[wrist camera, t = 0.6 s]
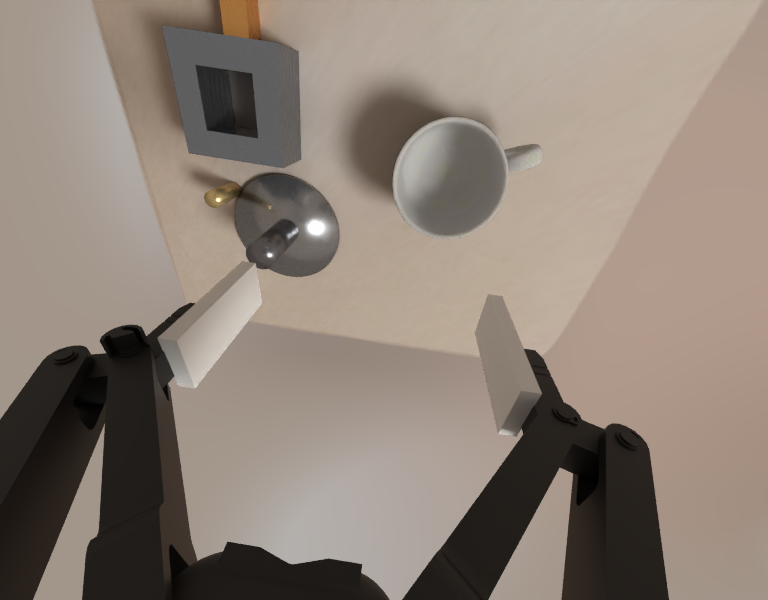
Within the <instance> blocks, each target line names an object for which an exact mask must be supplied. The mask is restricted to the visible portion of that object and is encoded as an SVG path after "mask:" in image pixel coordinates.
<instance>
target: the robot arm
mask: <svg viewBox="0 0 768 600" xmlns="http://www.w3.org/2000/svg"><path fill="white" fill-rule="evenodd" d="M261 304H262V299H261V293H260V287H259V281H258V275H257V268H256V263H251V262H244V261H242V262H241V263H240V264H239V265H238V266H237V267H236V268H235V269H233V270H232V271H231V272H230V273H229V274H228V275H227V276H226V277H225V278H223V279H222V280H221V281H220V282H219V283H218V284H217V285H216V286H215V287H213V288H212V289H211V290H210V291H209V292H208V293H207V294H206V295H205V296H203V297H202V298H201V299H200V300H199V301H198V302H197V303H196V304H195V303H189V304H187V305H185V306H183V307H181V308H179V309H178V310H177V311H176V312H174V313H173V314H172V315H171V317H168V318H167V319H166V320H165V322H163V323H162V324H160V325H159V326H158V327H157V328H156V329H155V330H153V331H152V332H151V333H150V334H149V335H148V336H146V335H145V333H144V331H143V329H142V327H140V326H138V325H125V326H121V327H117V328H114V329H112V330H110V331H108V332H107V333H105V334H104V335H103V336H102V337H101V339H100V343H101V344H102V346H103V348H104V350H105V351H106V353H105V354H94V355H91V354H90V352H89V350H88V349H87V348H86V347H84V346H70V347H65V348H63V349H59V350H57V351H55V352H53V353H52V354H50V355H48V356H47V357H46V358H45V359H44V360H43V361H42V362H41V364H40V365H39V367H38V368H37V369H36V371H35V372H34V373H33V375H32V376H31V378H30V379H29V381H28V382H27V383H26V385H25V386H24V387H23V389H22V390H21V392H20V393H19V394H18V396H17V397H16V399H15V400H14V401H13V403H12V404H11V405H10V407H9V408H8V410H7V411H6V412H5V414H4V415H3V417H2V418H1V420H0V600H33V598H34V595H35V593H36V591H37V588H38V586H39V583H40V581H41V578H42V576H43V573H44V571H45V569H46V566H47V564H48V561H49V559H50V556H51V554H52V551H53V549H54V547H55V544H56V542H57V539H58V537H59V534H60V532H61V529H62V527H63V524H64V522H65V520H66V517H67V514H68V512H69V510H70V507H71V505H72V502H73V500H74V497H75V495H76V493H77V490H78V488H79V485H80V482H81V480H82V478H83V475H84V473H85V470H86V468H87V466H88V463H89V460H90V458H91V456H92V453H93V451H94V448H95V446H96V443H97V441H98V439H99V436H100V434H101V431H102V429H103V426H104V424H105V434H104V451H103V468H102V486H101V503H100V521H99V532H98V535H97V537H95V538H94V539H92V540H90V542H89V545H88V547H87V552H86V559H85V573H84V584H83V596H82V600H389V598H388V597H387V595H386V594H385V593H384V591H383V590H382V589H381V588H380V587H379V586H378V585H377V584H376V583H375V582H374V581H373V580H372V579H370V578H369V577H367V576H366V575H364V574H362V573H361V569H362V564H357V563H352V562H346V561H339V560H334V559H324V560H318V561H312V562H306V563H300V564H289V563H287V562H285V561H283V560H281V559H280V558H278V557H276V556H274V555H273V554H271V553H269V552H267V551H266V550H264V549H262V548H260V547H255V546H250V545H244V544H238V543H232V542H227V544H226V546H225V549H224V551H223V552H219V553H216V554H213V555H210V556H208V557H205V558H203V559H200V560H199V561H197V558H196V554H195V551H194V548H193V545H192V541H191V536H190V529H189V522H188V515H187V507H186V500H185V493H184V486H183V479H182V472H181V464H180V458H179V449H178V442H177V435H176V428H175V420H174V413H173V406H172V399H171V391H170V387H169V385H168V383H169V382H170V380H171V379H172V378H173V377H174V378H175V380H176V382H177V384H178V386H183V387H189V388H196V387H197V385H198V384H199V383H200V381H201V380H202V379H203V378H204V376H205V375H206V374H207V372H208V371H209V370H210V369H211V367H212V366H213V365H214V363H215V362H216V361H217V360H218V359H219V357H220V356H221V355H222V353H223V352H224V351H225V350H226V348H227V347H228V346H229V344H230V343H231V342H232V341H233V339H234V338H235V337H236V336H237V334H238V333H239V332H240V331H241V329H242V328H243V326H244V325H245V324H246V323H247V322H248V320H249V319H250V318H251V317H252V315H253V314H254V313H255V311H256V310H257V309H258V308H259V306H260V305H261ZM475 335H476V339H477V343H478V348H479V352H480V356H481V361H482V365H483V369H484V374H485V378H486V383H487V387H488V391H489V396H490V400H491V404H492V408H493V413H494V418H495V421H496V426H497V430H498V434H503V435H510V436H517V435H518V433H519V432H520V430H521V428H522V431H523V436H522V437H521V439H520V440H519V441H518V443H517V444H516V445H515V447H514V448H513V450H512V451H511V452H510V454H509V455H508V456H507V458H506V459H505V461H504V462H503V463H502V465H501V466H500V467H499V469H498V470H497V472H496V473H495V474H494V476H493V477H492V479H491V480H490V481H489V483H488V484H487V485H486V487H485V488H484V490H483V491H482V492H481V494H480V495H479V497H478V498H477V499H476V501H475V502H474V503H473V505H472V506H471V508H470V509H469V510H468V512H467V513H466V514H465V516H464V518H463V519H462V520H461V521H460V523H459V524H458V526H457V527H456V528H455V530H454V531H453V533H452V534H451V535H450V537H449V538H448V539H447V541H446V542H445V544H444V545H443V546H442V547H441V549H440V550H439V551H438V552H437V553H436V554H435V555H434V557H433V558H432V560H431V561H430V562H429V564H428V565H427V566H426V568H425V569H424V570H423V572H422V573H421V575H420V576H419V577H418V579H417V580H416V582H415V583H414V584H413V586H412V587H411V588H410V590H409V591H408V593H407V594H406V595H405V597H404V598H403V599H402V600H488V599H489V597H490V595H491V593H492V591H493V589H494V588H495V586H496V584H497V582H498V580H499V579H500V576H501V575H502V573H503V571H504V569H505V567H506V565H507V564H508V562H509V560H510V558H511V556H512V554H513V552H514V551H515V549H516V547H517V545H518V543H519V541H520V540H521V538H522V536H523V534H524V532H525V531H526V528H527V527H528V525H529V523H530V521H531V519H532V518H533V516H534V514H535V512H536V510H537V508H538V506H539V505H540V503H541V501H542V499H543V497H544V495H545V494H546V492H547V490H548V488H549V486H550V484H551V483H552V481H553V479H554V477H555V475H556V473H557V471H558V469H559V468H563V469H565V470H567V471H569V472H571V473H573V482H572V493H571V504H570V514H569V525H568V537H567V547H566V558H565V569H564V580H563V590H562V600H669V597H668V589H667V581H666V574H665V566H664V559H663V551H662V543H661V536H660V529H659V520H658V513H657V505H656V499H655V491H654V483H653V475H652V467H651V460H650V452H649V448H648V446H647V444H646V442H645V441H644V440H643V438H642V437H641V436H640V435H638V434H637V433H636V432H635V431H633V430H632V429H630V428H628V427H626V426H624V425H621V424H610V425H608V426H607V427H606V428H605V429H603V428H600V427H598V426H595V425H593V424H590V423H588V422H585V421H583V420H582V419H581V417H580V415H579V414H578V413H577V411H576V410H575V409H573V408H572V407H571V406H570V405H568V404H566V403H564V402H563V400H562V398H561V396H560V394H559V392H558V389H557V387H556V385H555V383H554V381H553V379H552V377H551V374H550V372H549V370H548V369H547V366H546V364H545V362H544V359H543V358H542V357H541V356H540V355H539V354H538V353H537V352H536V351H535V350H529V349H523V346H522V344H521V341H520V339H519V336H518V334H517V331H516V329H515V327H514V324H513V322H512V319H511V317H510V314H509V312H508V309H507V307H506V305H505V302H504V300H503V297H502V296H497V295H489V294H488V296H487V299H486V302H485V305H484V308H483V311H482V314H481V317H480V320H479V322H478V325H477V328H476V331H475Z"/></svg>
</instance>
